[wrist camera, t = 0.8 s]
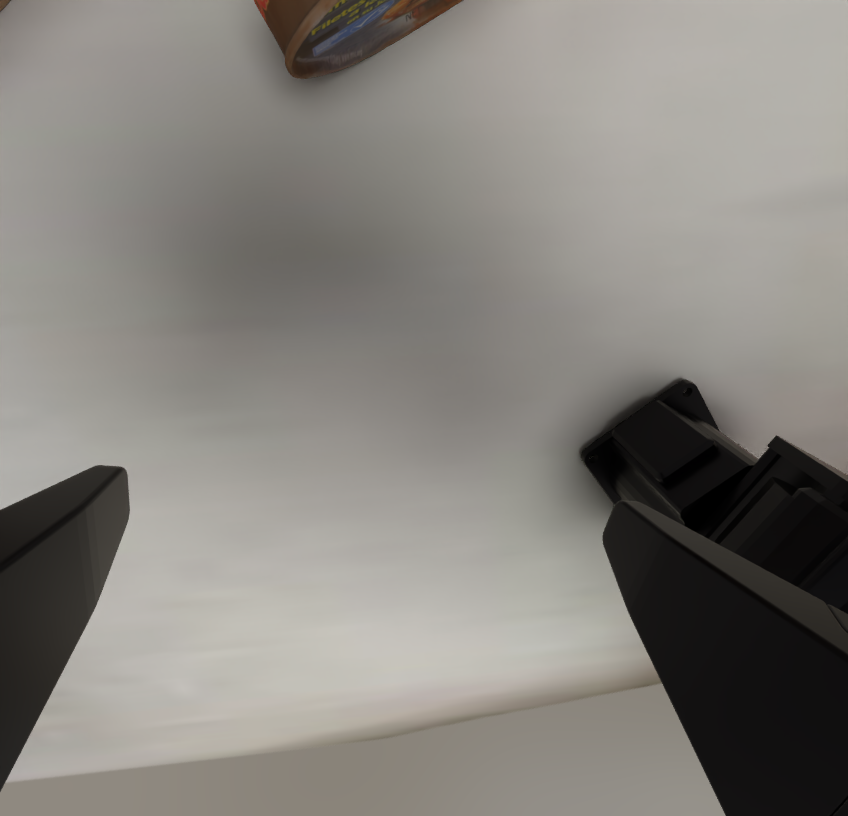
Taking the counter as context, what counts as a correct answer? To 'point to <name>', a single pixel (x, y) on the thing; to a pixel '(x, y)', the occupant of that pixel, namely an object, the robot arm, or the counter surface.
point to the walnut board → (3, 3)
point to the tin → (342, 29)
